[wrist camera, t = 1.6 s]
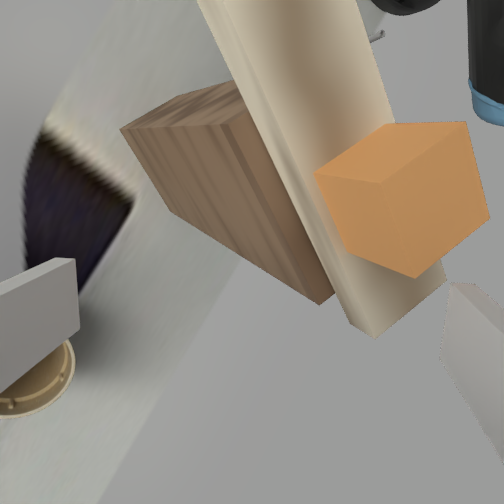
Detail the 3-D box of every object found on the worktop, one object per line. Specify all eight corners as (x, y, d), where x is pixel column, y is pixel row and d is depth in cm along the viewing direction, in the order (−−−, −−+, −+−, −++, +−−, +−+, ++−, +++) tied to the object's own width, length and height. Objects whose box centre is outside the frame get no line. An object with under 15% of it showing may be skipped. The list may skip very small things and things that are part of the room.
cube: (385, 123, 18) (465, 121, 15) (412, 203, 20) (490, 218, 17) (312, 173, 17) (379, 183, 14) (347, 252, 19) (414, 279, 16)
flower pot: (80, 354, 48) (87, 396, 40) (-16, 384, 45) (-28, 435, 37) (58, 275, 45) (60, 304, 38) (-47, 301, 42) (-68, 338, 34)
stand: (177, 95, 46) (355, 45, 19) (221, 178, 50) (417, 229, 24) (119, 129, 44) (227, 124, 18) (170, 211, 48) (319, 305, 22)
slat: (249, -200, 15) (276, -243, 13) (417, 269, 24) (446, 280, 22) (125, -149, 14) (137, -189, 12) (350, 323, 23) (375, 339, 21)
